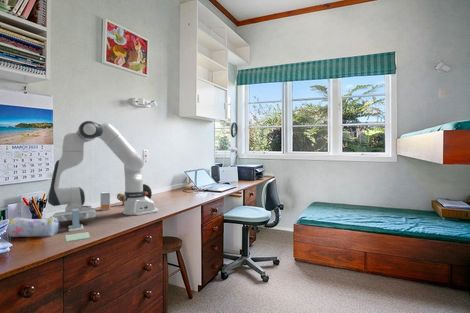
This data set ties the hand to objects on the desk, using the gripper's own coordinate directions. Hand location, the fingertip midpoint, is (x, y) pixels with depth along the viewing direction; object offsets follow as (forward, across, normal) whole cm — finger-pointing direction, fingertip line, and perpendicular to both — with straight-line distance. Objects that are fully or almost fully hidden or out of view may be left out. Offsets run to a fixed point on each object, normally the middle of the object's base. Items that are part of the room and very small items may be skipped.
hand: (75, 218), depth 149 cm
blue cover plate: (0, 0, +6) cm, 6 cm away
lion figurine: (-51, +36, +6) cm, 63 cm away
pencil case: (+1, -18, +6) cm, 19 cm away
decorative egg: (-48, +47, +6) cm, 68 cm away
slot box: (0, 0, +6) cm, 6 cm away
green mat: (+15, 0, +6) cm, 16 cm away
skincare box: (-43, +20, +6) cm, 48 cm away
